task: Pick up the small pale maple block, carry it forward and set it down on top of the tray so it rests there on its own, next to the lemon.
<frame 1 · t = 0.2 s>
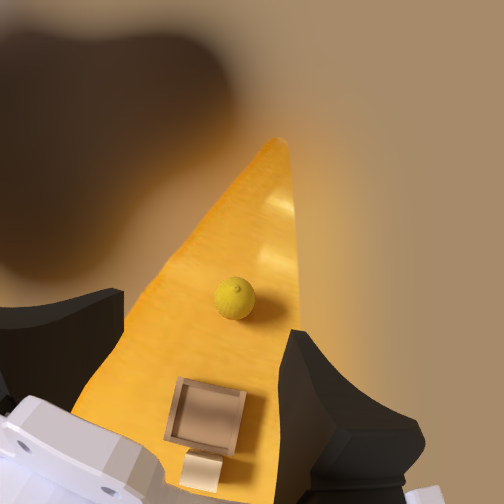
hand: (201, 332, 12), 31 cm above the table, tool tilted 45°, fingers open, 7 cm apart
tray: (206, 416, 36), on the table
lemon: (233, 308, 44), on the table
block: (203, 466, 32), on the table
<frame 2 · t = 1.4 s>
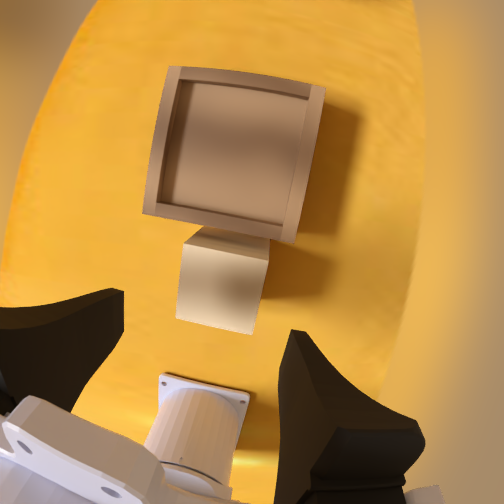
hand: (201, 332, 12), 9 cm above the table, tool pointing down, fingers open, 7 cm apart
tray: (236, 151, 19), on the table
block: (231, 263, 21), on the table
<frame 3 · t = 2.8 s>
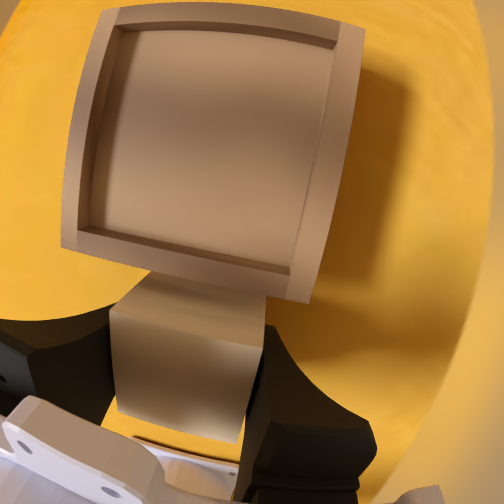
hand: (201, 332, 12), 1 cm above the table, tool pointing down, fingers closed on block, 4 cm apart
tray: (212, 139, 11), on the table
block: (207, 316, 13), on the table, touching gripper
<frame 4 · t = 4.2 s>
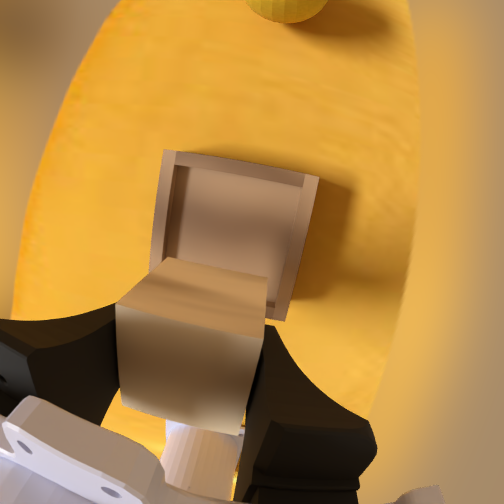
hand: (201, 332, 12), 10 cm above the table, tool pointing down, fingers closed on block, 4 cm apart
tray: (232, 227, 20), on the table
lemon: (283, 11, 16), on the table
block: (209, 312, 14), point 8 cm above the table, touching gripper
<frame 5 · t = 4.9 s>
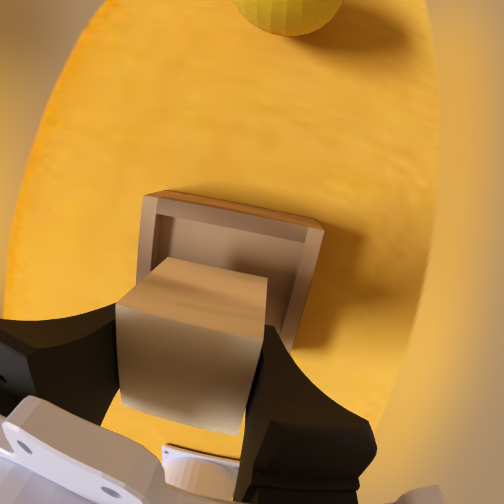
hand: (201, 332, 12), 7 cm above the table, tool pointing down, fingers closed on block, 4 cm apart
tray: (225, 275, 18), on the table
lemon: (285, 19, 14), on the table
block: (209, 312, 14), point 5 cm above the table, touching gripper
when the fingers open (5 cm above the table, at t = 5.7 s): block stays where it is, resting on tray.
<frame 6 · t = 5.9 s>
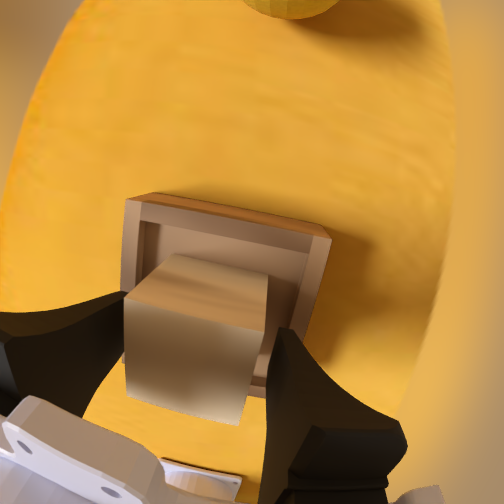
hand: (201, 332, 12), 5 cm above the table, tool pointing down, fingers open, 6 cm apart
tray: (220, 287, 17), on the table
lemon: (286, 4, 12), on the table
block: (211, 307, 14), point 2 cm above the table, touching tray
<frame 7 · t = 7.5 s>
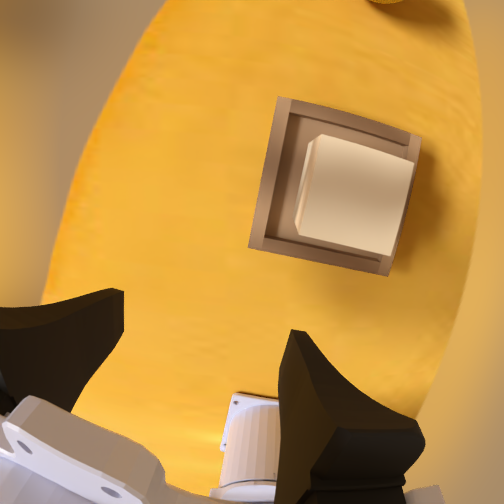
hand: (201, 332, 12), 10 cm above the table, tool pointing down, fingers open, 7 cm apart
tray: (330, 185, 19), on the table
block: (337, 188, 17), point 2 cm above the table, touching tray
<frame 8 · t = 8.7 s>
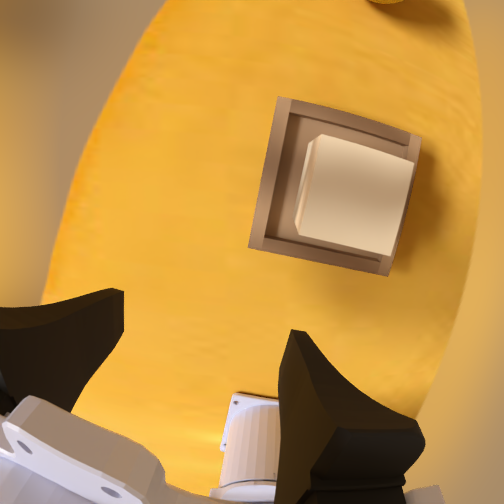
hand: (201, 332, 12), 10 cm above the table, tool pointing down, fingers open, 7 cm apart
tray: (330, 185, 19), on the table
block: (337, 188, 17), point 2 cm above the table, touching tray
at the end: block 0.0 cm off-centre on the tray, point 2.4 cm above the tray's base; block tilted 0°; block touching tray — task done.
